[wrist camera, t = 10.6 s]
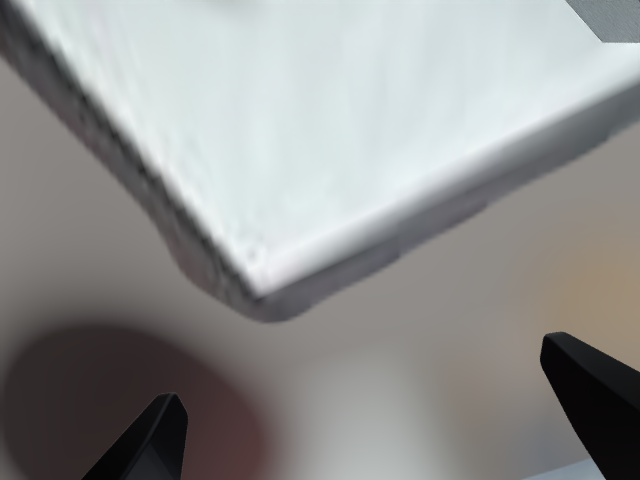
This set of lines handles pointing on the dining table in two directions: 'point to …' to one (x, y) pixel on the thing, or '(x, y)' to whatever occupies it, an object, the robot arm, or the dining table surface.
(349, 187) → the dining table surface
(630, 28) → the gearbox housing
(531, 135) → the dining table surface
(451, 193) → the dining table surface
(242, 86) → the dining table surface
